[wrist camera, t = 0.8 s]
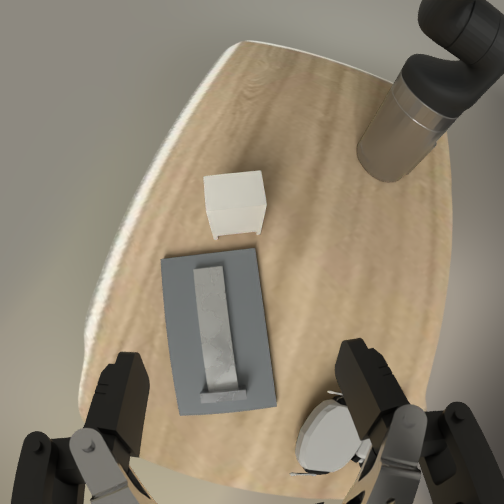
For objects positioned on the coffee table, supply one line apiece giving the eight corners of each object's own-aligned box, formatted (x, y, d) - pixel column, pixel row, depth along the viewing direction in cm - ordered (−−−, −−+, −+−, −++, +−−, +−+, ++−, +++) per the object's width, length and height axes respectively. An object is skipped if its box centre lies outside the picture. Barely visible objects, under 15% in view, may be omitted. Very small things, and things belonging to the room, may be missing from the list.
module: (255, 205, 38) (260, 168, 29) (260, 234, 37) (266, 204, 27) (211, 210, 37) (203, 174, 28) (214, 239, 36) (206, 211, 27)
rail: (229, 266, 34) (228, 262, 32) (246, 395, 30) (247, 400, 28) (187, 271, 34) (184, 267, 32) (204, 399, 30) (201, 405, 28)
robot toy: (400, 400, 32) (313, 382, 32) (418, 407, 28) (326, 390, 27) (368, 470, 29) (278, 461, 29) (382, 482, 25) (286, 477, 24)
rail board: (254, 250, 36) (255, 247, 35) (275, 404, 31) (276, 406, 30) (162, 260, 35) (160, 259, 34) (181, 413, 30) (179, 415, 29)
